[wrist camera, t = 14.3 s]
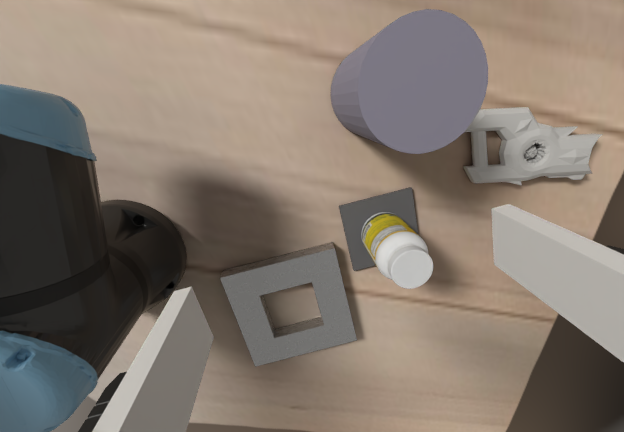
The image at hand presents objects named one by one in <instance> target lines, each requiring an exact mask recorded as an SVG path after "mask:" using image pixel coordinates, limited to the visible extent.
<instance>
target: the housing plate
mask: <svg viewBox="0 0 624 432" xmlns="http://www.w3.org/2000/svg"><path fill="white" fill-rule="evenodd" d="M220 279H221V282H222V284H223V287H224V289H225V292H226V294H227V297H228V299H229V302H230V304H231V307H232V309H233V312H234V314H235V317H236V319H237V322H238V324H239V327H240V329H241V332H242V335H243V337H244V340H245V342H246V345H247V347H248V350H249V352H250V355H251V357H252V360H253V362H254V365H255V367H256V366H260V365H263V364H267V363H271V362H275V361H279V360H283V359H287V358H290V357H294V356H298V355H302V354H306V353H310V352H314V351H317V350H321V349H325V348H329V347H333V346H337V345H340V344H344V343H348V342H352V341H356V340H357V338H356V334H355V330H354V326H353V322H352V317H351V313H350V309H349V305H348V301H347V297H346V293H345V289H344V285H343V280H342V276H341V272H340V268H339V264H338V260H337V256H336V252H335V248H334V245H333V242H331V243H327V244H324V245H320V246H316V247H312V248H308V249H304V250H301V251H297V252H293V253H289V254H285V255H281V256H277V257H274V258H270V259H266V260H262V261H258V262H254V263H251V264H247V265H243V266H239V267H235V268H231V269H227V270H224V271H222V274H221V277H220ZM311 282H312V284H313V288H314V291H315V295H316V298H317V302H318V305H319V309H320V312H321V316H322V317H320V318H316V319H312V320H308V321H304V322H300V323H297V324H293V325H289V326H285V327H281V328H277V329H274V326H273V323H272V320H271V317H270V314H269V312H268V309H267V306H266V303H265V300H264V297H263V295H264V294H268V293H272V292H276V291H280V290H284V289H287V288H291V287H295V286H299V285H303V284H307V283H311Z"/></svg>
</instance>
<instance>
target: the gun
mask: <svg viewBox="0 0 624 432" xmlns="http://www.w3.org/2000/svg"><path fill="white" fill-rule="evenodd" d="M576 128H577V126H575V127H552V126H549V125H545V124H540V123H538V122H537V121H536V119H535V118H534V116H533V114H532V113H531V111H530V110H529V108H528V107H516V108H496V109H480V110H479V112H478V114H477V115H476V117H475V119H474V120H473V122H472V123H471V124H470V126H469V127H468V128H467V129H466V131H465V132H471V143H472V160H473V166H463V168H464V170H465V171H466V173H467V175H468V177H469V179H470V181H471V182H473V183H492V182H509V183H513V184H518V185H522V184H521V181H527V180H530V179H534V178H537V177H540V176H546V177H548V178H558V177H568V178H570V179H572V180H579V179H582V178H583V177H584V176H585V174H591V173H592V172H591V170H590V168H589V165H588V163H589V159H590V155H591V151H592V147H593V146H594V144H595V143H596V141H597V140H598V138H599V137H600V136H601V135H602V134H578V135H569V134H570V133H572V132H573V131H574V130H575V129H576ZM486 131H496V132H497V133H498V135H499V136H500V137H501V139H502V142H501V146H500V150H499V157H500V163H501V164H496V165H488V158H487V142H486ZM532 145H533V146H532ZM524 157H525V158H526V159H524Z"/></svg>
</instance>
